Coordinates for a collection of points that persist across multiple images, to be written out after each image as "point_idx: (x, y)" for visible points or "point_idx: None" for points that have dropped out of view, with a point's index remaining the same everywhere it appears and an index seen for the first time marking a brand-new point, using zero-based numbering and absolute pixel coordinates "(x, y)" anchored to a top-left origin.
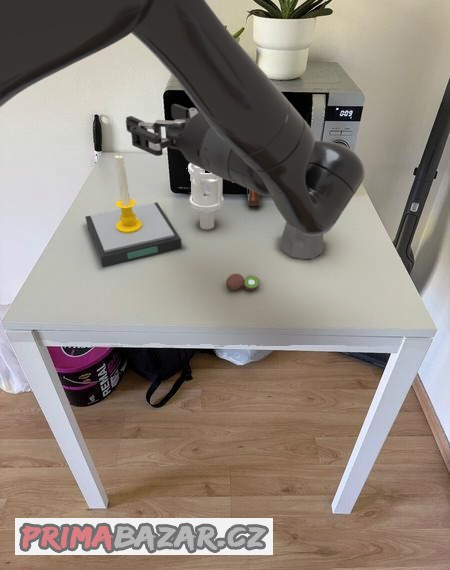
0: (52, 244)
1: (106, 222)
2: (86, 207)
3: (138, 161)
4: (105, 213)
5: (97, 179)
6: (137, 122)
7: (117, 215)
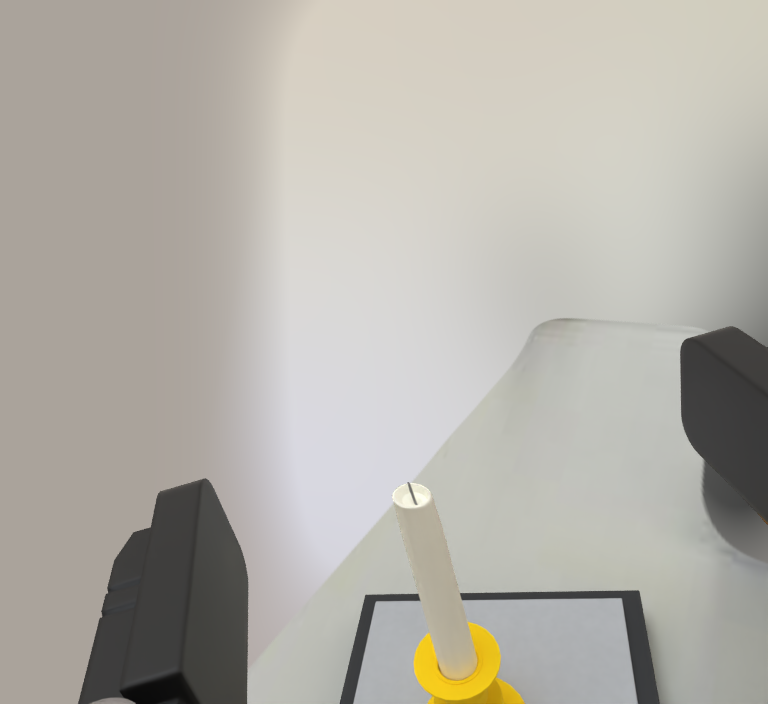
0: None
1: (406, 664)
2: None
3: (630, 357)
4: None
5: (490, 411)
6: (132, 643)
7: None
